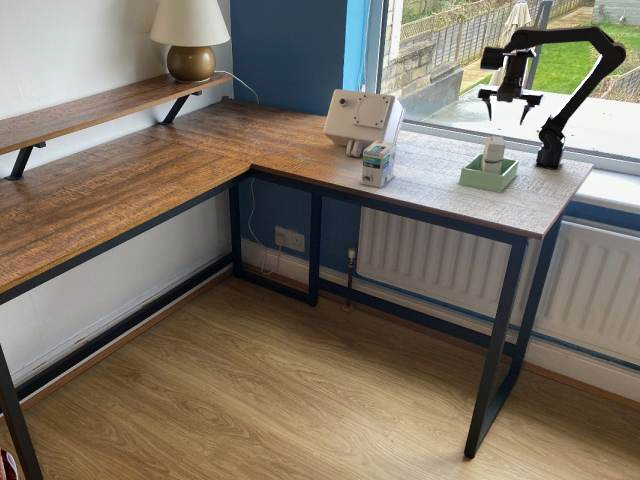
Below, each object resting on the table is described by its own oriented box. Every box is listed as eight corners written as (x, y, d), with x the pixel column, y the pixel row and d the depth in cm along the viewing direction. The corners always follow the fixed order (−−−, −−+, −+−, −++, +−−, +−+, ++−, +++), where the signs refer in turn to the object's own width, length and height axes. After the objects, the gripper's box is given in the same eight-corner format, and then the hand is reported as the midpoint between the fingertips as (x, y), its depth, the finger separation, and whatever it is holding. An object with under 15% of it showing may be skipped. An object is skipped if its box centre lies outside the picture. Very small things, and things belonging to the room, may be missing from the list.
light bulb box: (381, 188, 179) (384, 153, 173) (360, 184, 182) (362, 150, 176) (394, 176, 186) (397, 142, 181) (373, 172, 190) (376, 139, 184)
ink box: (498, 184, 178) (506, 145, 171) (481, 183, 179) (488, 144, 172) (496, 173, 185) (503, 135, 178) (479, 172, 186) (486, 134, 179)
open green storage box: (515, 175, 184) (519, 160, 181) (500, 192, 174) (503, 176, 171) (476, 168, 190) (479, 153, 187) (459, 183, 180) (461, 168, 177)
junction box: (310, 144, 201) (328, 80, 200) (326, 156, 215) (343, 96, 213) (377, 155, 190) (396, 87, 189) (389, 167, 204) (407, 104, 202)
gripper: (476, 74, 181) (468, 125, 189) (541, 81, 171) (529, 134, 180) (487, 66, 188) (479, 116, 197) (550, 73, 179) (538, 124, 187)
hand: (505, 122), depth 190 cm, fingers open, 9 cm apart
